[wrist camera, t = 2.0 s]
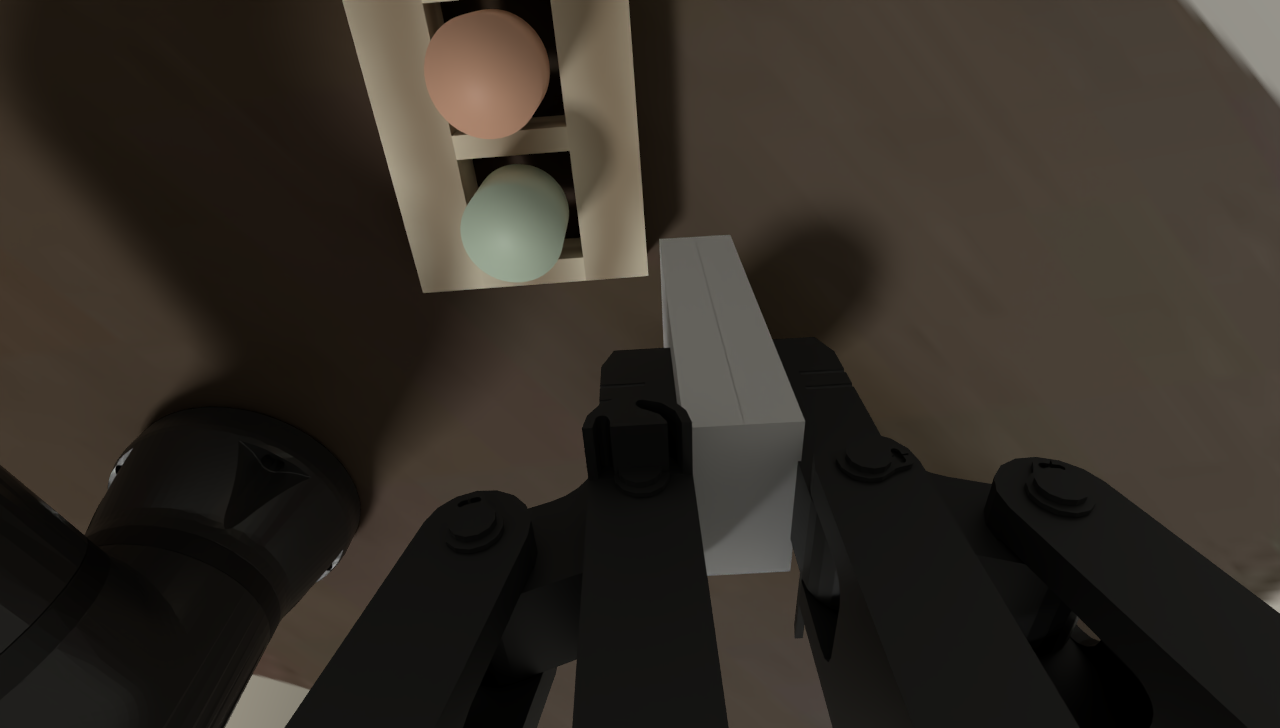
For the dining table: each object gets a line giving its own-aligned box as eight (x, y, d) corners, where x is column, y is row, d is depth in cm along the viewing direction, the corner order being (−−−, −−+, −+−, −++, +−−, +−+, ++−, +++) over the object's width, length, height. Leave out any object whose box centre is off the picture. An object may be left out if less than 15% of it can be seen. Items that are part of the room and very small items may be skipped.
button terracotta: (458, 126, 29) (439, 143, 26) (433, 13, 27) (410, 18, 24) (556, 118, 29) (549, 134, 26) (541, 4, 27) (531, 8, 24)
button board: (437, 270, 36) (423, 293, 34) (311, -217, 25) (276, -239, 23) (646, 254, 36) (648, 275, 34) (610, -244, 25) (609, -269, 23)
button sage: (485, 257, 33) (472, 286, 30) (466, 167, 30) (450, 189, 28) (574, 250, 33) (569, 278, 30) (562, 159, 30) (555, 180, 27)
